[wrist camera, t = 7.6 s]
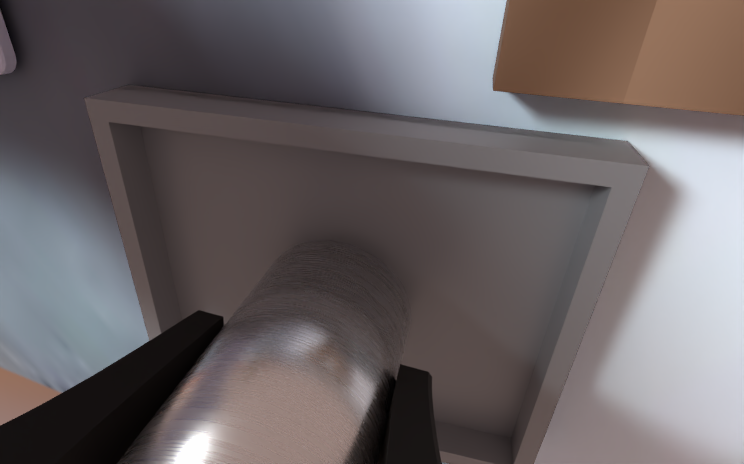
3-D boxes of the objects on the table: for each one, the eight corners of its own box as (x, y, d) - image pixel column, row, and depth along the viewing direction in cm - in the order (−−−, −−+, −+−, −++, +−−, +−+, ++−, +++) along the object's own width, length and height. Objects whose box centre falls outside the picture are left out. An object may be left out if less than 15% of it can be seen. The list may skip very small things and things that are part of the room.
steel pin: (258, 334, 13) (105, 564, 8) (274, 219, 11) (81, 429, 6) (388, 381, 13) (319, 652, 8) (431, 272, 11) (376, 544, 5)
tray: (189, 362, 16) (164, 394, 15) (128, 84, 11) (83, 97, 10) (523, 437, 14) (526, 482, 13) (627, 141, 9) (649, 166, 8)
